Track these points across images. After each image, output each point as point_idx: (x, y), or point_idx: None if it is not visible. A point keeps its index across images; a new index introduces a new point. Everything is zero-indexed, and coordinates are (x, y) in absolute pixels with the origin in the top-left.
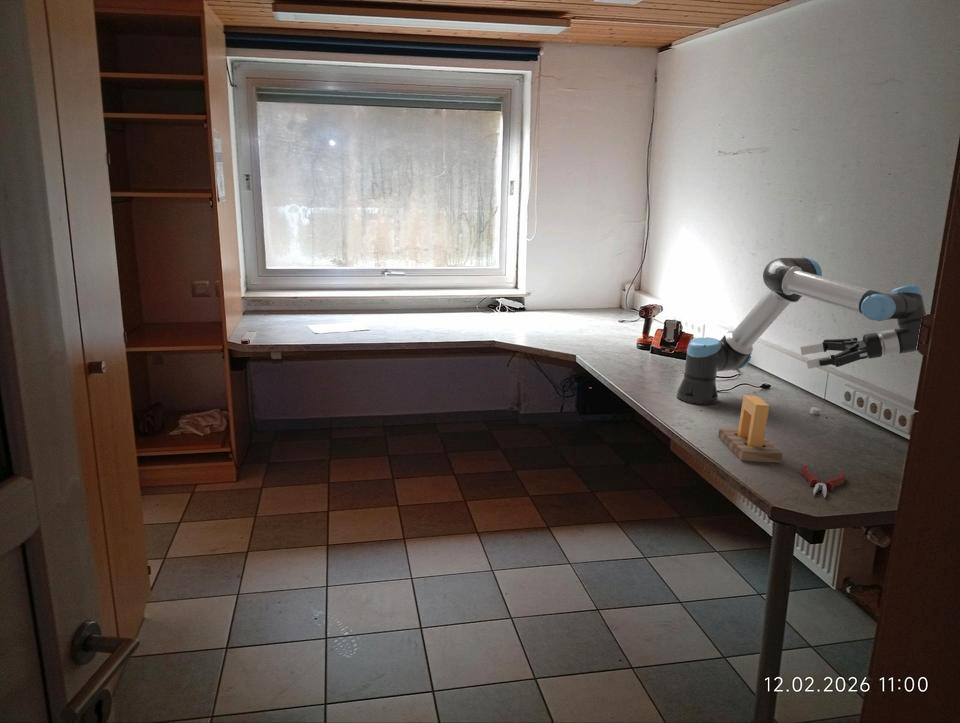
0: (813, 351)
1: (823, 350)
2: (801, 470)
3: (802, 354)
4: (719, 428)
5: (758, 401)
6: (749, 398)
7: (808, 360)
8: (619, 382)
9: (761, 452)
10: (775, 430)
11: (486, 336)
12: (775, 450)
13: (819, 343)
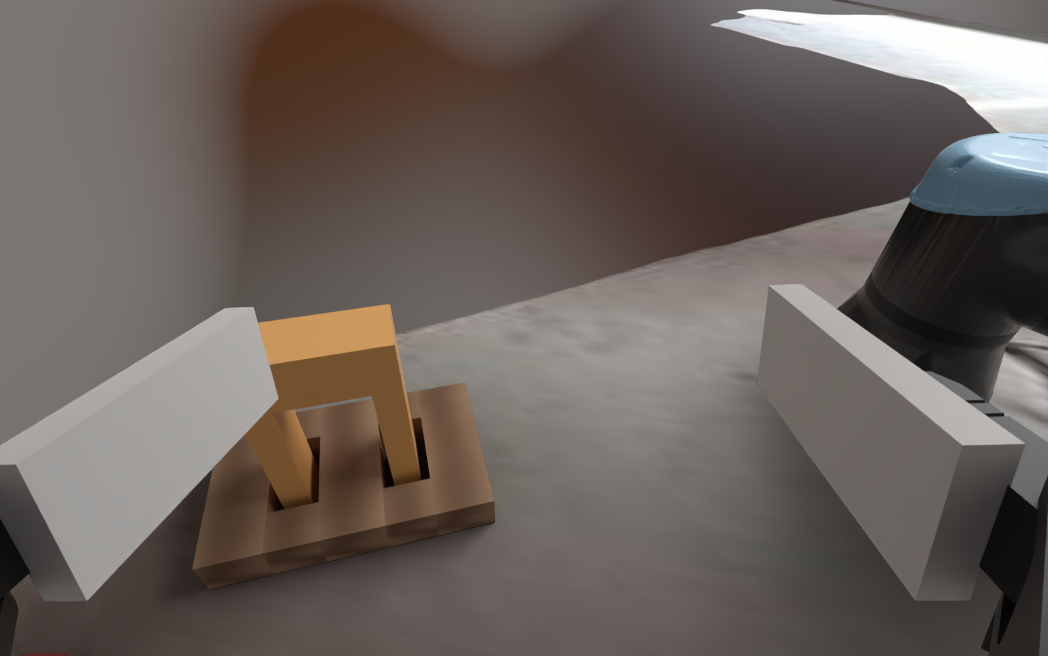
0: (824, 446)
1: (913, 578)
2: (49, 652)
3: (762, 382)
4: (464, 383)
5: (285, 341)
6: (334, 317)
7: (216, 319)
8: (856, 222)
9: (210, 487)
10: (676, 640)
11: (957, 79)
12: (227, 543)
13: (958, 409)
